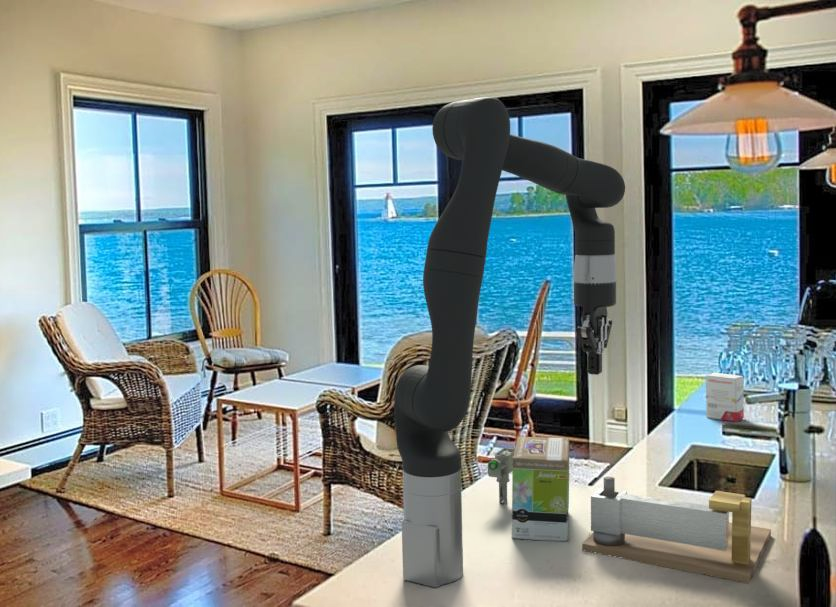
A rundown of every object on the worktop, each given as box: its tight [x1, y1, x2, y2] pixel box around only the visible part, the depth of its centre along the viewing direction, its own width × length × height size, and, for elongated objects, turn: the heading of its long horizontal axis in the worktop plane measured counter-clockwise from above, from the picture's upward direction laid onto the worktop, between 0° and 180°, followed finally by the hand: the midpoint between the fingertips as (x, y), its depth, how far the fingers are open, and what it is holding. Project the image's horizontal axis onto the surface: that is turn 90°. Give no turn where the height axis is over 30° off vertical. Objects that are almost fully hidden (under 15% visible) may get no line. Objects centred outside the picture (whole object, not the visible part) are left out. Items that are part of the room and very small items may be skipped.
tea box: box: [511, 436, 570, 542], centre depth 152 cm, size 15×10×15 cm
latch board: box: [581, 476, 772, 584], centre depth 143 cm, size 21×26×12 cm
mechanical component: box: [487, 447, 515, 505], centre depth 164 cm, size 3×10×10 cm, turn 152°
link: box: [590, 487, 730, 551], centre depth 138 cm, size 21×5×6 cm, turn 61°
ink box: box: [705, 372, 745, 423], centre depth 225 cm, size 9×5×12 cm, turn 44°
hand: (595, 373), depth 154 cm, fingers closed
